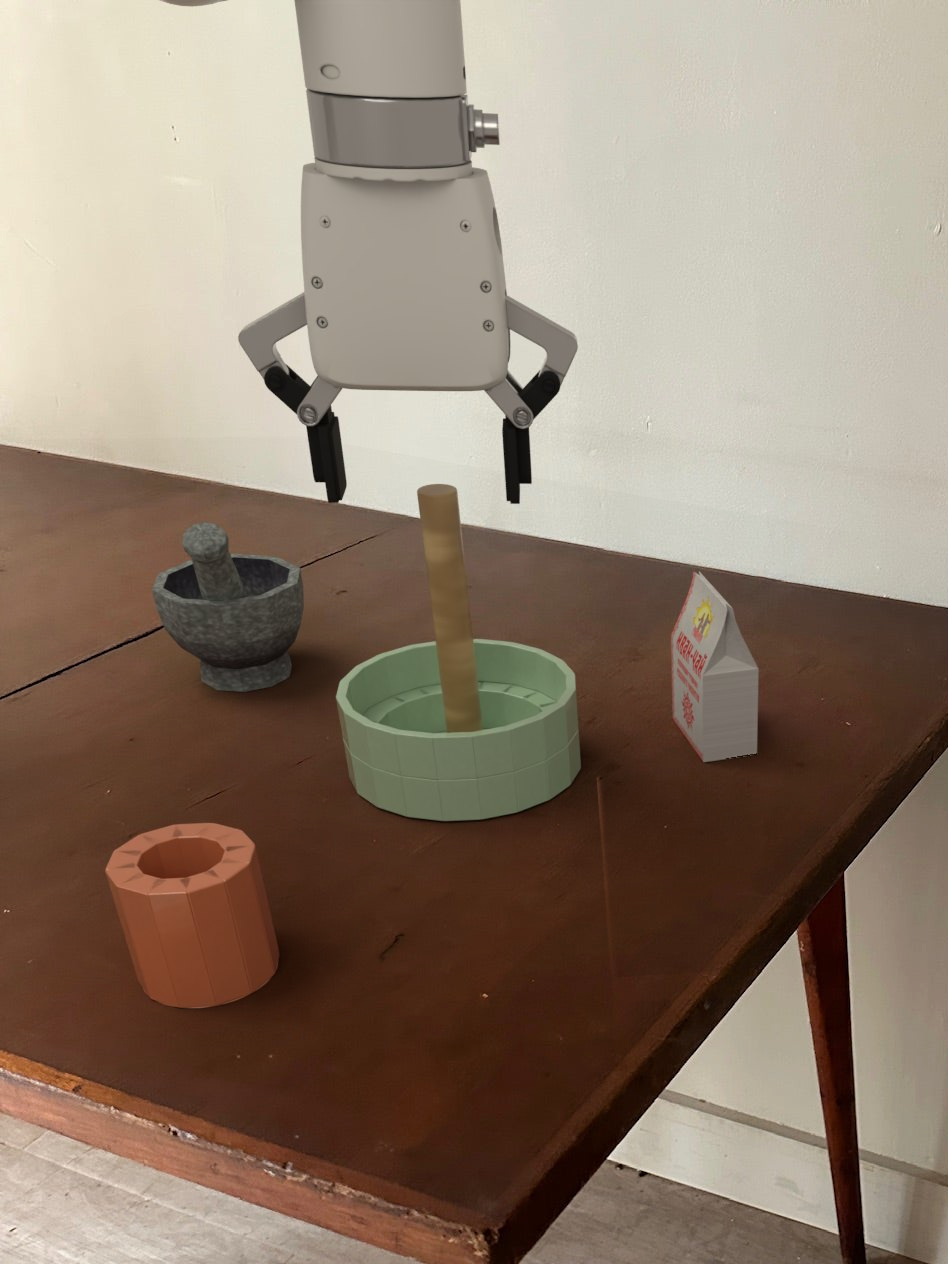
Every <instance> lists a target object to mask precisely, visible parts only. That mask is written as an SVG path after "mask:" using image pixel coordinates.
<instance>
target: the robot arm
mask: <svg viewBox="0 0 948 1264" xmlns="http://www.w3.org/2000/svg"><path fill="white" fill-rule="evenodd" d="M159 1H160V2H164V3H167V4H169V5H173V6H180V7H190V8H191V7H192V8H193V7H202V6H207V5H213V4H217V3H220V2H221V3H222V2H226V1H228V0H159ZM294 7H295V16H296V23H297V31H298V40H299V46H300V56H301V64H302V72H303V78H304V79H303V80H304V87H305V88H306V90H305V94H306V103H307V112H308V119H309V125H310V126H309V127H310V133H311V134H310V135H311V142H312V149H313V159H314V162H310V163H306V164H303V166H302V173H301V174H302V175H301V185H300V187H301V188H300V190H301V191H300V242H301V243H300V244H301V263H302V265H301V266H302V277H303V280H302V281H303V290H304V292H302V293H299V294H298V295H296V296H294V297H293V298H290V299H289V300H288V301H286V302H284V303H283V304H280V305H279V306H278V307H276V308H274V309H272V310H270V311H269V312H266V313H265V314H263V315H262V316H260V317H258V318H256V319H255V320H253V321H251V322H249V323H247V324H246V325H245V326H243V328H242V329H241V330H240V331H239V333H238V335H237V338H238V343H239V346H240V347H241V348H242V350H243V351H244V352H245V355H246V356H247V357H248V359H249V361H250V362H251V363H252V365H253V366H254V368H255V370H256V371H257V372H258V373H259V374H260V376H261V378H262V380H263V382H264V385H265V387H266V389H268V391H270V392H271V393H272V394H273V395H274V396H275V397H276V398H278V399H279V401H281V402H282V403H283V404H284V405H285V406H287V408H288V409H290V410H291V411H292V412H293V413H294V414H295V415H296V417H297V419H298V421H299V422H300V423H301V424H302V425H304V426H305V427H306V432H307V433H306V435H307V442H308V448H309V455H310V462H311V470H312V474H313V475H312V476H313V480H314V482H315V483H325V484H324V485H325V491H326V492H325V493H326V498H327V503H329V504H339V502H340V501H343V499H344V496H345V493H346V489H347V487H348V486H347V485H348V483H347V482H348V481H347V475H346V467H345V459H344V451H343V444H342V436H341V429H340V421H339V416H337V415H335V411H333V409H332V404H333V403H334V402H335V400H336V398H337V397H338V395H339V394H340V393H341V392H342V390H343V389H346V390H361V391H400V392H401V391H407V392H416V391H417V392H479V391H481V392H482V391H484V392H485V394H487V396H488V397H489V398H490V399H491V400H492V401H493V402H494V404H495V405H496V406H497V407H498V408H499V410H500V411H501V412H502V413H503V414H504V417H505V418H502V428H501V429H502V430H501V434H502V449H503V451H502V453H503V462H504V463H503V466H504V482H505V494H506V495H505V498H506V499H505V500H506V502H510V503H509V504H511V505H521V485H532V483H533V478H532V477H533V475H532V458H531V457H532V455H531V442H530V441H531V440H530V439H531V437H530V427H531V426H532V424H533V422H534V420H535V419H536V418H537V417H538V416H539V414H540V413H541V412H542V411H543V410H544V409H545V408H546V407H547V406H548V405H549V404H550V403H551V401H552V400H553V399H554V398H555V397H556V396H557V395H558V394H559V392H560V390H561V387H562V385H563V382H564V380H565V378H566V376H567V374H568V372H569V369H570V368H571V365H572V363H573V361H574V359H575V356H576V354H577V352H578V348H579V345H578V338H577V336H576V334H575V333H573V331H571V330H569V329H567V328H566V327H564V326H562V325H560V324H558V323H557V322H555V321H553V320H551V319H550V318H548V317H546V316H545V315H543V314H541V313H539V312H537V311H535V310H534V309H533V308H530V307H528V306H527V305H525V304H523V303H522V302H520V301H518V300H517V299H515V298H513V297H511V296H510V295H508V292H507V283H506V276H505V275H506V274H505V263H504V255H503V247H502V238H501V237H502V236H501V232H500V226H499V225H500V224H499V218H498V213H497V208H496V203H495V198H494V193H493V189H492V184H491V181H490V177H489V174H488V170H486V169H484V168H480V167H473V161H472V157H473V153H477V151H478V149H485V148H486V145H487V146H489V145H491V146H500V144H501V143H500V140H501V139H500V124H499V123H500V122H499V113H488V112H487V113H486V112H483V109H475V104H469V95H468V94H467V93H468V92H467V78H466V77H467V76H466V75H467V74H466V62H465V61H466V60H465V48H464V45H465V44H464V36H463V35H464V33H463V18H462V6H461V0H294ZM305 326H307V337H308V343H309V351H310V357H311V361H312V366H313V369H314V371H315V373H316V376H315V378H314V380H313V381H312V383H311V384H309V383H307V382H306V380H305V379H303V378H302V377H301V376H300V375H299V374H298V373H297V372H296V371H295V370H294V369H292V368H291V367H290V366H289V365H288V364H286V363H285V361H284V359H283V358H282V357H281V353H280V352H279V351H278V348H277V343H278V342H279V341H281V340H283V339H284V338H286V337H288V336H290V335H292V334H293V333H295V332H297V331H299V330H300V329H302V328H305ZM511 331H512V332H514V333H515V334H518V335H519V336H521V337H523V338H524V339H527V340H529V341H530V342H532V343H534V345H535V344H536V345H537V346H539V347H541V348H542V349H544V351H545V353H546V354H545V355H546V356H545V358H544V359H543V360H544V361H543V364H542V366H541V367H540V369H539V370H538V371H537V372H536V374H535V375H534V376H533V377H532V378H531V379H530V380H529V381H528V383H527V384H526V385H525V386H524V387H523V386H522V385H521V384H520V382H519V381H518V380H517V379H516V378H515V376H513V374H512V373H511V371H510V370H509V362H510V360H511Z"/></svg>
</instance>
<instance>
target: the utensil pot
mask: <svg viewBox="0 0 948 1264" xmlns="http://www.w3.org/2000/svg"><path fill="white" fill-rule="evenodd" d="M104 871H105V875H106V879H107V882H108V885H109V889H110V892H111V895H112V898H113V902H114V905H115V908H116V909H115V910H116V912H117V916H118V919H119V922H120V925H121V928H122V933H123V935H124V938H125V942H126V945H127V948H128V952H129V955H130V959H131V962H132V965H133V969H134V972H135V974H136V975H135V976H136V978H137V982H138V983H139V985H140V986H141V988H142V989H143V992H144V993H145V994H146V995H147V996H148V998H149V999H150V1000H152V1001H155V1002H157V1003H159V1004H162V1005H164V1006H169V1007H173V1008H174V1007H175V1008H178V1009H179V1008H181V1009H203V1008H210V1007H211V1008H213V1007H216V1006H221V1005H225V1004H226V1005H227V1004H230V1003H232V1002H236V1001H238V1000H241V999H243V998H246V997H247V996H249V995H252V994H253V993H255V992H256V991H258V990H260V989H261V988H262V987H263V986H265V985H266V984H267V983H268V982H269V981H270V980H271V979H272V978H273V976H274V975H275V974H276V971H277V969H278V966H279V959H280V955H281V953H280V950H279V945H278V940H277V935H276V931H275V927H274V922H273V919H272V913H271V910H270V904H269V901H268V895H267V892H266V887H265V883H264V878H263V874H262V869H261V865H260V860H259V855H258V851H257V847H256V844H255V843H254V841H252V840H251V839H250V838H249V836H248V835H247V834H246V833H245V832H244V831H243V830H241V829H240V828H235V827H231V826H228V825H223V824H219V823H216V822H197V823H176V824H171V825H167V826H164V827H161V828H157V829H154V830H150V831H147V832H143V833H140V834H138V835H136V836H134V837H133V838H131V839H130V840H128V841H127V842H125V843H123V844H122V845H120V846H119V847H117V848H116V849H114V850H113V852H112V854H111V856H110V858H109V861H108V862H107V864H106V867H105V869H104Z"/></svg>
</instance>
